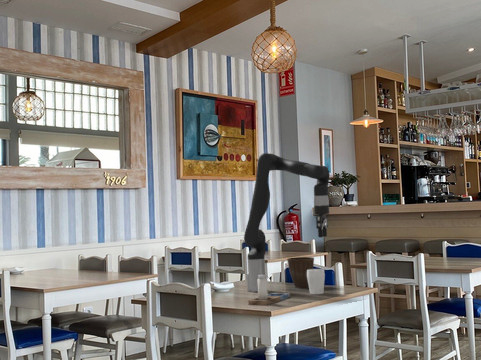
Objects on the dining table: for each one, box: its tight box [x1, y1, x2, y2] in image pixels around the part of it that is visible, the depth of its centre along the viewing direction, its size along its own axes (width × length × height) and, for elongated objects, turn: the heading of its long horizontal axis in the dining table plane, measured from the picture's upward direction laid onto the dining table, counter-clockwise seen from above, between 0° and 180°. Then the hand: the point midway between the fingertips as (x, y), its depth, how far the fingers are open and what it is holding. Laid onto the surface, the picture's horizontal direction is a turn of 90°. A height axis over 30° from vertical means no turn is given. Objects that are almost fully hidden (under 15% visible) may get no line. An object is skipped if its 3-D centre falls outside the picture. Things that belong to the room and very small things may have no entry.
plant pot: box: [286, 256, 315, 289], centre depth 329 cm, size 15×15×16 cm
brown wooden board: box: [247, 292, 291, 306], centre depth 279 cm, size 9×26×2 cm, turn 151°
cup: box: [307, 268, 326, 295], centre depth 301 cm, size 9×9×12 cm
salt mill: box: [257, 274, 268, 300], centre depth 273 cm, size 4×4×13 cm
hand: (322, 236), depth 299 cm, fingers open, 8 cm apart
